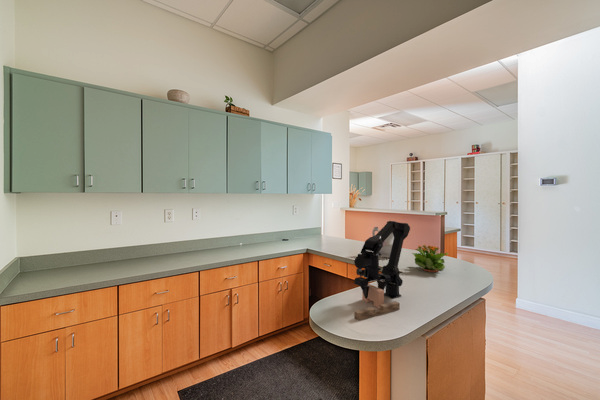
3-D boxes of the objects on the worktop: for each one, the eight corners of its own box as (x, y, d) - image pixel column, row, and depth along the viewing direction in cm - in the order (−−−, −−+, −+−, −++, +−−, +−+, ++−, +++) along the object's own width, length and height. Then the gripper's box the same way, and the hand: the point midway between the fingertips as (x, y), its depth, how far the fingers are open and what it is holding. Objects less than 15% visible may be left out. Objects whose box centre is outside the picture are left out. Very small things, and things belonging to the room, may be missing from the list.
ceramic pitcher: (372, 259, 228) (372, 229, 225) (372, 252, 247) (372, 225, 244) (399, 260, 223) (400, 230, 220) (397, 253, 242) (397, 225, 239)
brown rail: (395, 307, 129) (395, 301, 129) (399, 309, 127) (399, 302, 127) (354, 318, 118) (354, 311, 118) (358, 320, 116) (358, 313, 116)
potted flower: (454, 276, 174) (455, 249, 174) (415, 275, 179) (415, 248, 179) (442, 266, 199) (442, 242, 198) (408, 265, 204) (408, 241, 203)
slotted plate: (367, 298, 140) (367, 282, 140) (383, 307, 129) (383, 290, 129) (362, 299, 139) (362, 283, 139) (379, 308, 128) (379, 291, 128)
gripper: (376, 259, 145) (376, 288, 145) (347, 263, 137) (347, 294, 137) (391, 264, 135) (391, 295, 135) (361, 269, 127) (361, 302, 127)
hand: (372, 296), depth 134 cm, fingers open, 8 cm apart
